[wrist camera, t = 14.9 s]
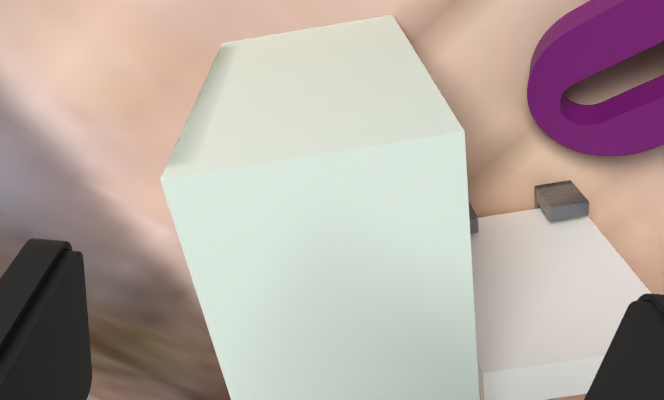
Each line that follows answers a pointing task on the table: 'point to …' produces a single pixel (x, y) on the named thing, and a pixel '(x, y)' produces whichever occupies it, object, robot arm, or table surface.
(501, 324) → the door
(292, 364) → the cabinet
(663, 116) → the mounting bracket
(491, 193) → the table surface
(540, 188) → the hinge clips
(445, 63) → the table surface
